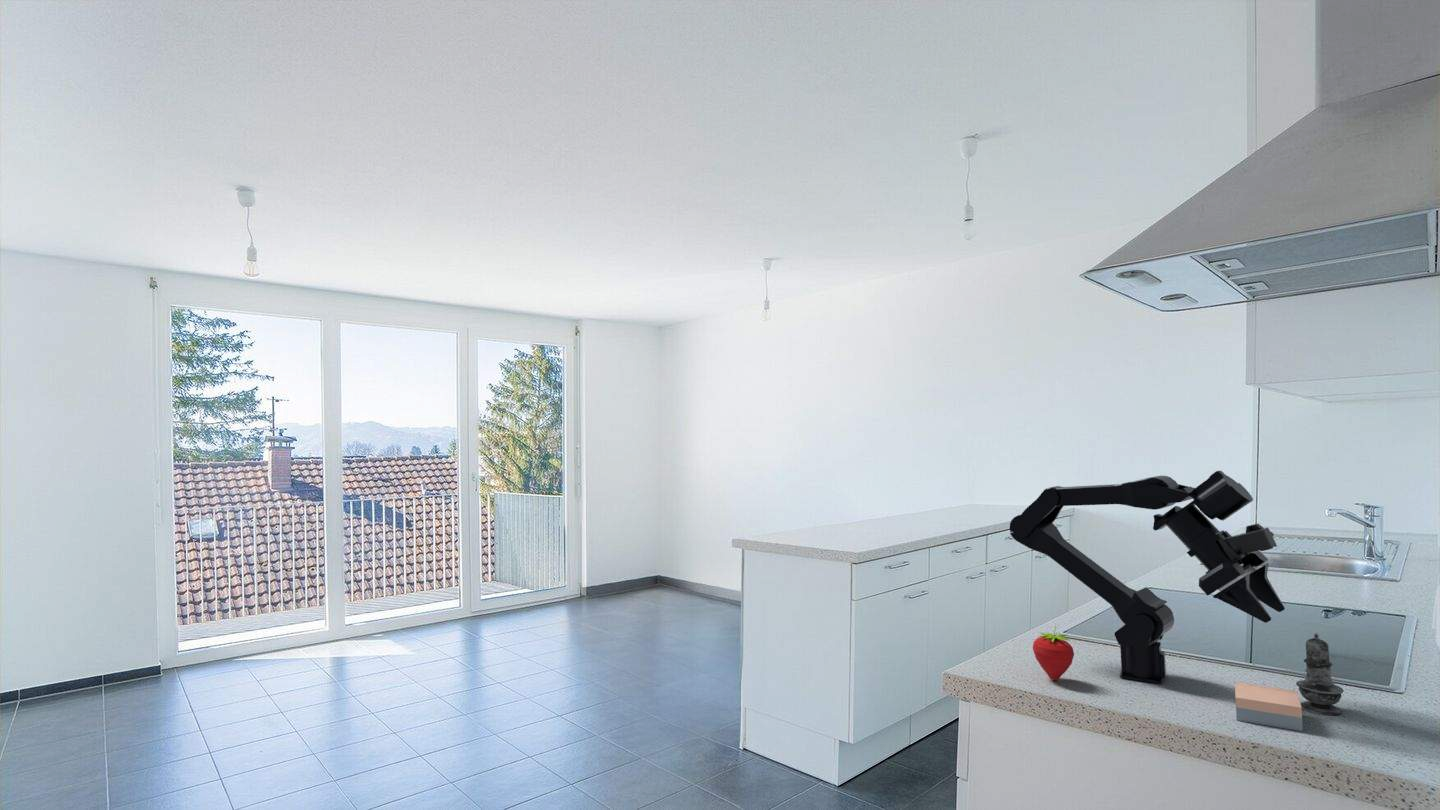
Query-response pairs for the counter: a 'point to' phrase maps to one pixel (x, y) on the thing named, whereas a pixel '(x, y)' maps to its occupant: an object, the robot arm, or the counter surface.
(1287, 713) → the peach and grey block
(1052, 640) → the strawberry
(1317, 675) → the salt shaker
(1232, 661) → the counter surface
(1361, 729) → the counter surface
